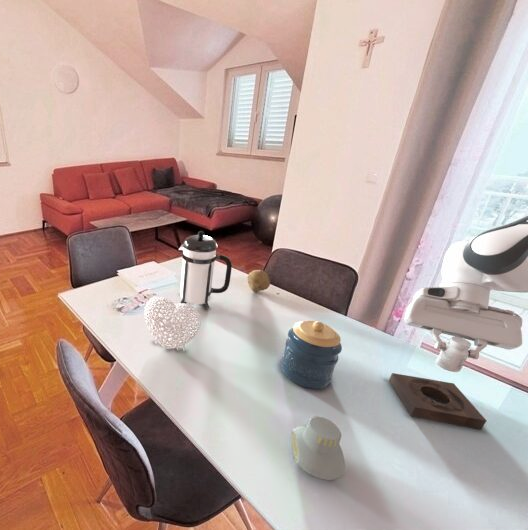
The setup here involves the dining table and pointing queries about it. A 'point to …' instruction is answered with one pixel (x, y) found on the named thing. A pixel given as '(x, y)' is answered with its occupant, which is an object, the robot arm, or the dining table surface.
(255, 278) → the natural sponge
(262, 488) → the dining table surface
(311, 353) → the canister
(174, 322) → the decorative heart
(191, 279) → the coffee press
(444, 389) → the socket pad
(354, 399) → the dining table surface
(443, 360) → the pill bottle
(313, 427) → the air freshener
